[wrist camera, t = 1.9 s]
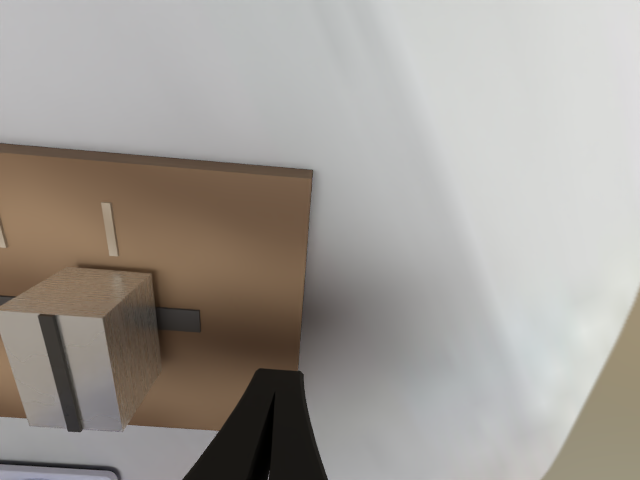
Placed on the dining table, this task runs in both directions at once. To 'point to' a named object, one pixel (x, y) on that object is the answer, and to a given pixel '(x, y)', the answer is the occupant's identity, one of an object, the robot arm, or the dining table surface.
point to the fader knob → (83, 348)
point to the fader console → (167, 262)
